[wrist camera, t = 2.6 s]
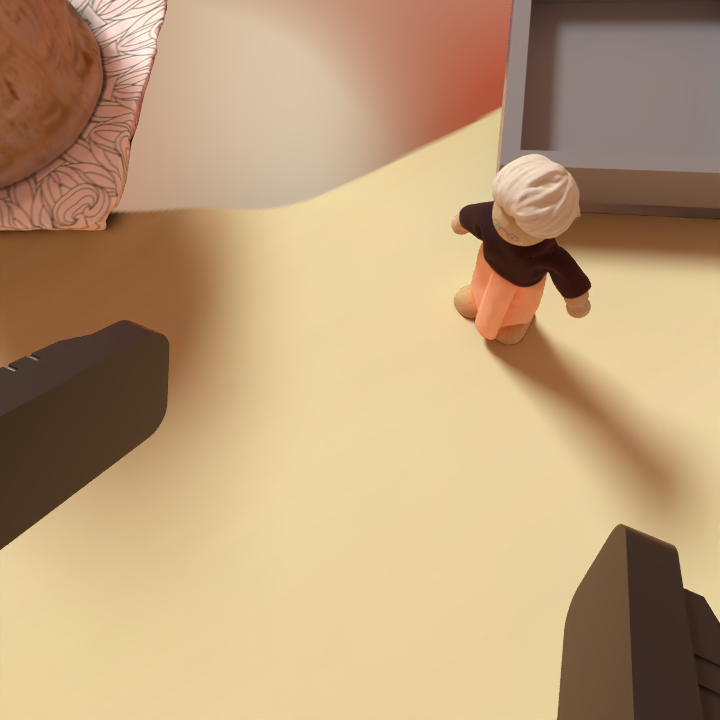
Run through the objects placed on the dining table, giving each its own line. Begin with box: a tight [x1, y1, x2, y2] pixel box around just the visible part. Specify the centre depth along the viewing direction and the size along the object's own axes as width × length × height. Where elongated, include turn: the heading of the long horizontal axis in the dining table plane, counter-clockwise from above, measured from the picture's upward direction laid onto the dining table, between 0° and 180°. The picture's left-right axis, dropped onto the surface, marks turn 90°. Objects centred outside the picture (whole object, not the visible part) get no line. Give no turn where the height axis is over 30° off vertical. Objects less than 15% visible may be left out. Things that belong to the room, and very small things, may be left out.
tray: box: [494, 0, 720, 219], centre depth 33 cm, size 14×16×4 cm
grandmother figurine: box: [451, 154, 591, 344], centre depth 26 cm, size 8×4×13 cm, turn 57°
